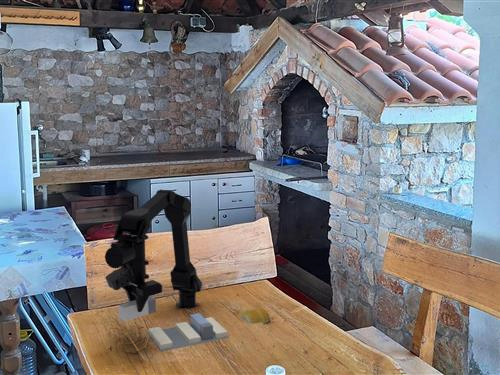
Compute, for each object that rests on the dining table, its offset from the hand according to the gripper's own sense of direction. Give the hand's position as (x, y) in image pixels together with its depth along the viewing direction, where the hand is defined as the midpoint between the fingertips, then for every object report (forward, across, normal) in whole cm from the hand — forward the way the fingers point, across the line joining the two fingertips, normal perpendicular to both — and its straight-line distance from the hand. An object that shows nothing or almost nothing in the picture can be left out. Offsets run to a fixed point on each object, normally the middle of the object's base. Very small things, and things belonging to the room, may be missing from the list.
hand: (136, 310), depth 162 cm
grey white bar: (+2, 0, 0) cm, 2 cm away
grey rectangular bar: (+10, +7, +18) cm, 21 cm away
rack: (+11, +6, +14) cm, 18 cm away
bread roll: (+12, +9, +38) cm, 40 cm away
